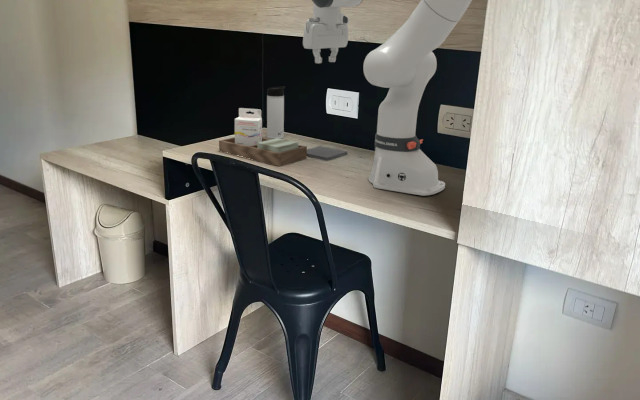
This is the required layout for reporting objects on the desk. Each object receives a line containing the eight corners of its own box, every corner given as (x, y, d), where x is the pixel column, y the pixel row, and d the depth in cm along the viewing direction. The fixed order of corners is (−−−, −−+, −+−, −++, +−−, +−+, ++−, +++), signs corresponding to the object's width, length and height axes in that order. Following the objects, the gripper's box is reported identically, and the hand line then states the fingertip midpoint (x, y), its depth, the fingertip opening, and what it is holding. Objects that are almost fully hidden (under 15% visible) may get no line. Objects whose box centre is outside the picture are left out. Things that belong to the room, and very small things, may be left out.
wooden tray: (306, 158, 186) (306, 146, 185) (279, 166, 176) (279, 154, 174) (247, 145, 201) (247, 134, 200) (219, 152, 191) (218, 140, 189)
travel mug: (283, 141, 209) (284, 87, 202) (266, 141, 209) (266, 87, 202) (285, 138, 214) (285, 85, 208) (268, 137, 215) (268, 85, 208)
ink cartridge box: (234, 153, 190) (233, 109, 186) (238, 149, 195) (237, 107, 190) (258, 154, 189) (258, 111, 184) (262, 151, 194) (262, 109, 189)
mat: (347, 154, 193) (347, 151, 193) (327, 160, 184) (327, 157, 184) (319, 148, 200) (319, 145, 199) (298, 154, 191) (298, 151, 190)
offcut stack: (300, 159, 186) (300, 141, 184) (279, 166, 177) (279, 147, 175) (275, 154, 191) (275, 137, 189) (254, 160, 182) (254, 142, 180)
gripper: (314, 17, 168) (313, 65, 172) (352, 18, 183) (350, 61, 188) (298, 17, 171) (297, 63, 176) (336, 18, 187) (335, 60, 191)
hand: (325, 62), depth 182 cm, fingers open, 6 cm apart
